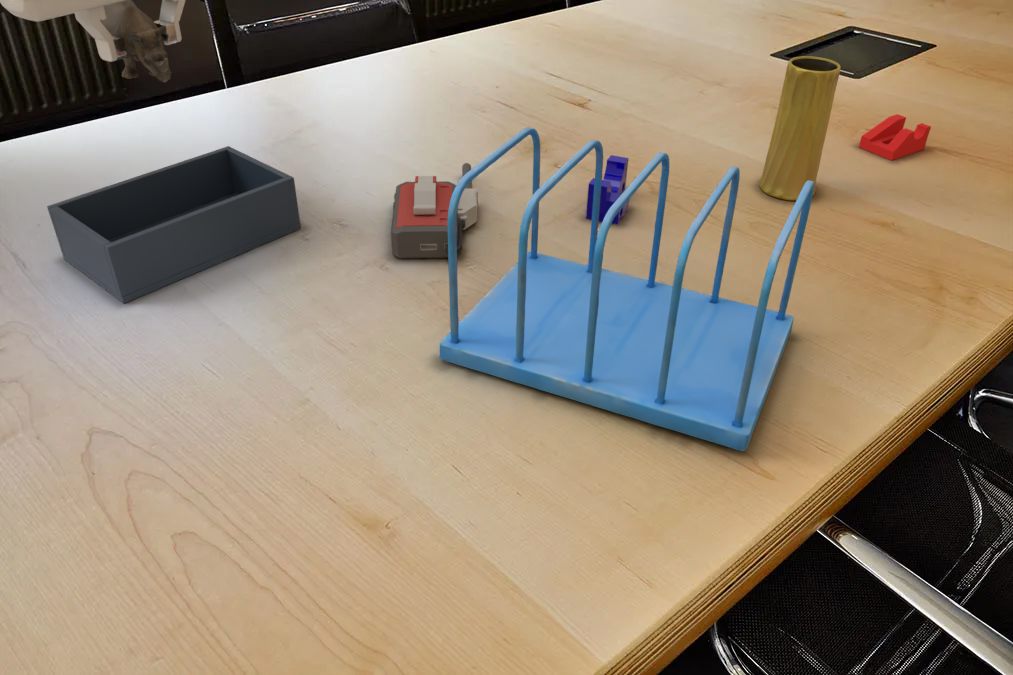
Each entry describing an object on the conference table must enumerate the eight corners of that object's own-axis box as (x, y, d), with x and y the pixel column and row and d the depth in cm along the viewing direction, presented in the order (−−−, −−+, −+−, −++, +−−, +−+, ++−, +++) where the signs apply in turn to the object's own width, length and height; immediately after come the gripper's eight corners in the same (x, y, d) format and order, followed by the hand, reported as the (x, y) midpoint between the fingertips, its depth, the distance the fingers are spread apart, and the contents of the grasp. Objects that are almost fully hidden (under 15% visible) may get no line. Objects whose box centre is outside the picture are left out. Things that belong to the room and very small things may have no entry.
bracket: (891, 136, 110) (897, 114, 109) (923, 149, 107) (931, 126, 105) (858, 147, 107) (864, 124, 106) (891, 160, 104) (898, 137, 102)
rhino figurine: (146, 102, 70) (128, 27, 67) (97, 59, 79) (79, -9, 76) (195, 93, 72) (180, 19, 69) (142, 52, 81) (127, -15, 78)
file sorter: (790, 333, 74) (832, 168, 65) (744, 458, 61) (788, 273, 52) (527, 266, 82) (532, 111, 74) (438, 362, 70) (431, 190, 61)
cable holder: (617, 224, 90) (621, 189, 87) (586, 218, 91) (588, 183, 88) (638, 193, 96) (641, 160, 93) (607, 188, 97) (610, 155, 94)
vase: (756, 176, 100) (781, 53, 92) (810, 179, 99) (839, 56, 91) (762, 199, 95) (788, 71, 87) (818, 203, 94) (850, 74, 86)
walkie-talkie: (480, 264, 82) (476, 176, 99) (480, 223, 80) (475, 140, 96) (389, 266, 82) (399, 177, 98) (386, 225, 79) (397, 140, 96)
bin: (64, 259, 82) (46, 206, 79) (237, 194, 94) (228, 145, 91) (123, 303, 76) (107, 247, 73) (301, 228, 88) (294, 177, 85)
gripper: (181, -146, 75) (211, 17, 83) (-52, -120, 61) (11, 74, 69) (232, -140, 72) (257, 29, 80) (0, -111, 58) (59, 90, 66)
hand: (142, 50), depth 74 cm, fingers closed on rhino figurine, 4 cm apart
